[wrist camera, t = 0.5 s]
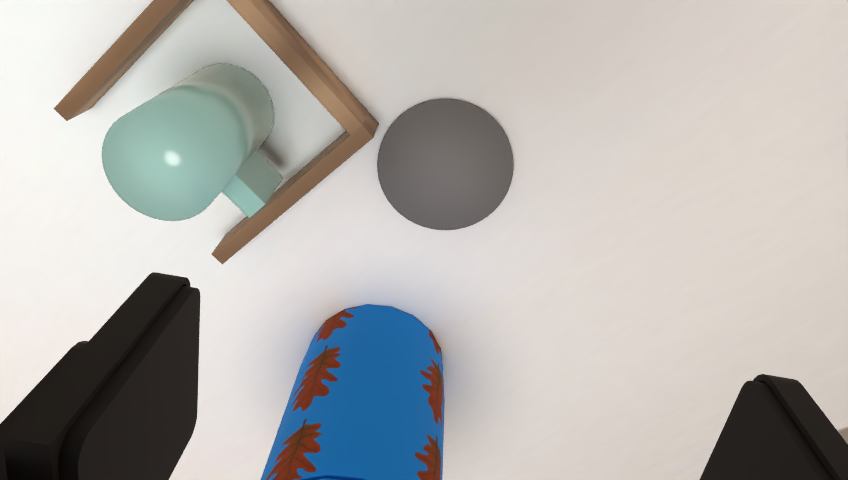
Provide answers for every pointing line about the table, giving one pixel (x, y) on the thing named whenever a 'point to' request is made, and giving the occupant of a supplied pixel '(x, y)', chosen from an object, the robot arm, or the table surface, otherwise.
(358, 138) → the holder
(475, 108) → the coaster
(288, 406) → the thermos
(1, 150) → the table surface
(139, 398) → the robot arm
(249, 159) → the teal mug
